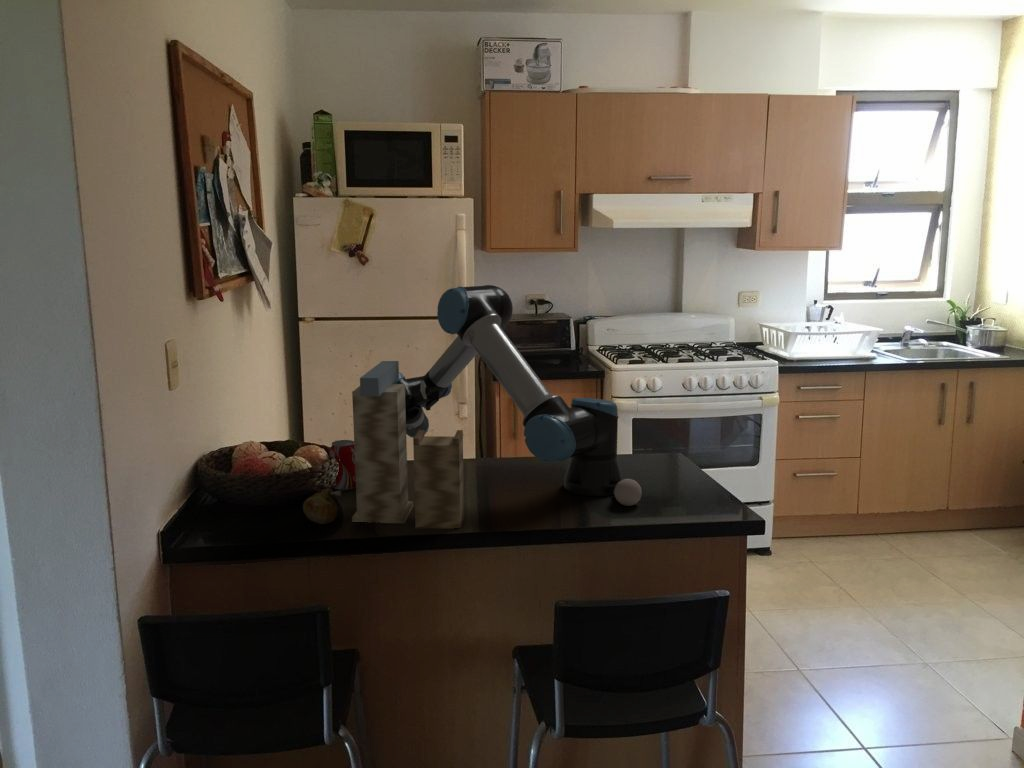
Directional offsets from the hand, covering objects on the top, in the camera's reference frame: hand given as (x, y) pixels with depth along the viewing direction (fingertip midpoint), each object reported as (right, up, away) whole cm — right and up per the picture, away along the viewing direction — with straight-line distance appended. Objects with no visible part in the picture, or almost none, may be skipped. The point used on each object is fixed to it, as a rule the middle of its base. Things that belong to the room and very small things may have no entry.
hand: (395, 385), depth 209 cm
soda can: (-14, -27, +6) cm, 31 cm away
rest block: (+13, -31, -20) cm, 39 cm away
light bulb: (+57, -29, -6) cm, 64 cm away
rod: (-1, 0, -18) cm, 18 cm away
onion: (-14, -31, -20) cm, 40 cm away
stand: (-1, -30, -15) cm, 33 cm away
